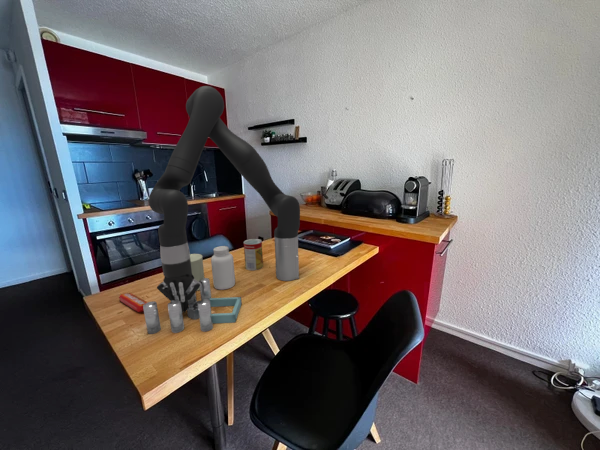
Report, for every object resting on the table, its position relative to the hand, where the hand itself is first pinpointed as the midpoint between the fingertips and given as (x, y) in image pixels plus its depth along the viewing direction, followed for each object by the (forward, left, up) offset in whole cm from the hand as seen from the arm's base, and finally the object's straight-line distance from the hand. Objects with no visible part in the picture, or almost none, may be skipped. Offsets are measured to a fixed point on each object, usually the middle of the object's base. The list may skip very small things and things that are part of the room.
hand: (183, 311), depth 76 cm
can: (+4, -19, -1) cm, 19 cm away
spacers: (-2, 0, -1) cm, 2 cm away
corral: (-12, 0, -1) cm, 12 cm away
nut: (-4, 0, -1) cm, 4 cm away
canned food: (-17, -36, -1) cm, 40 cm away
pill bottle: (-8, -19, -1) cm, 20 cm away
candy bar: (+19, -7, -2) cm, 20 cm away
